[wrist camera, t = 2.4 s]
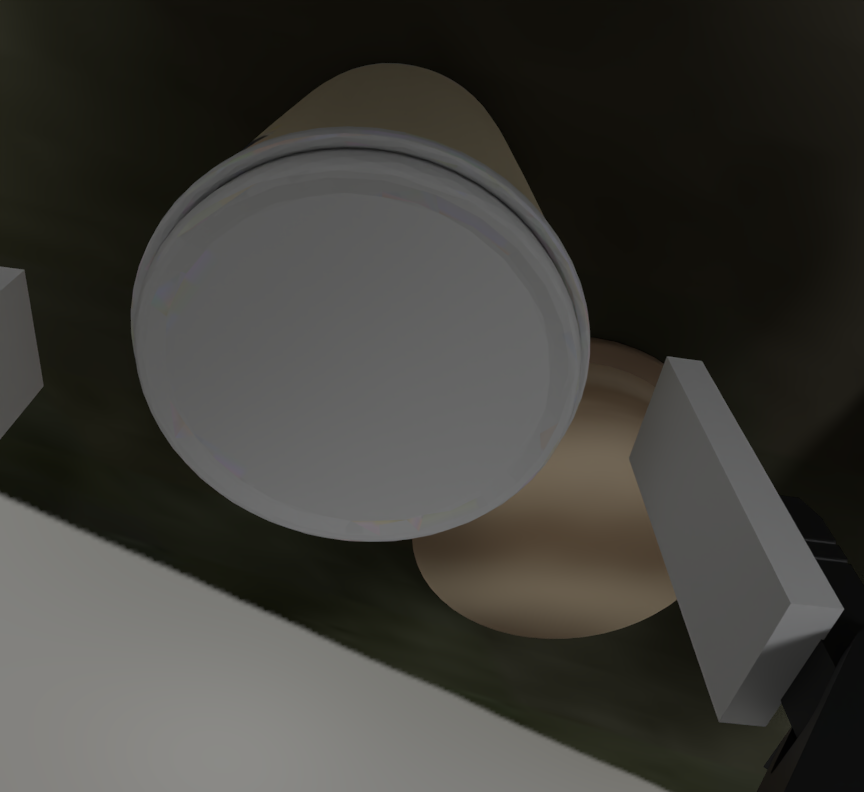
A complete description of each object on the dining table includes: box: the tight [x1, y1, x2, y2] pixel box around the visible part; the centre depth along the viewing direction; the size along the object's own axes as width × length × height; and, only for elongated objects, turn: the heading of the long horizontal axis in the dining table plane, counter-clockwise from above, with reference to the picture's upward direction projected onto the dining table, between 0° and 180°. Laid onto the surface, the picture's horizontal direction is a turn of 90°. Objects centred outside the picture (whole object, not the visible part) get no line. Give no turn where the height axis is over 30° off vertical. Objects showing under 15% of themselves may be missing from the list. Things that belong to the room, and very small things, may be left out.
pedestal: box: [412, 337, 677, 639], centre depth 30 cm, size 13×13×4 cm
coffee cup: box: [131, 63, 590, 542], centre depth 20 cm, size 9×9×12 cm
